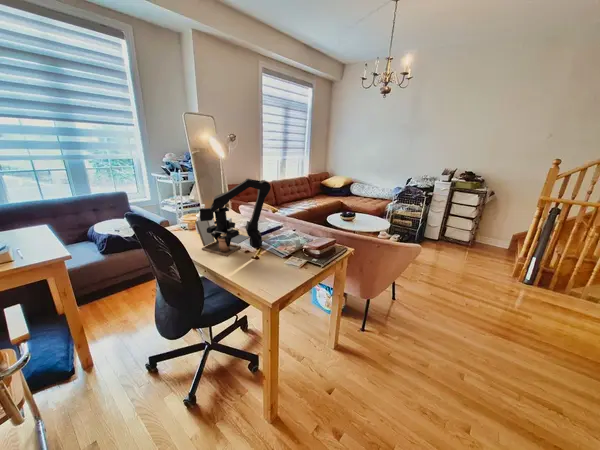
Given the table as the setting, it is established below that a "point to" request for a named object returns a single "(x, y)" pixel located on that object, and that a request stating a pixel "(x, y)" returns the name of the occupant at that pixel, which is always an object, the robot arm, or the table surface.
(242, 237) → the slate tile
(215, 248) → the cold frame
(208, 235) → the propped lid
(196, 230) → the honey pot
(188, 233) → the table surface
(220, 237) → the terracotta pot
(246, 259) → the table surface
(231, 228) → the small box
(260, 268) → the table surface
